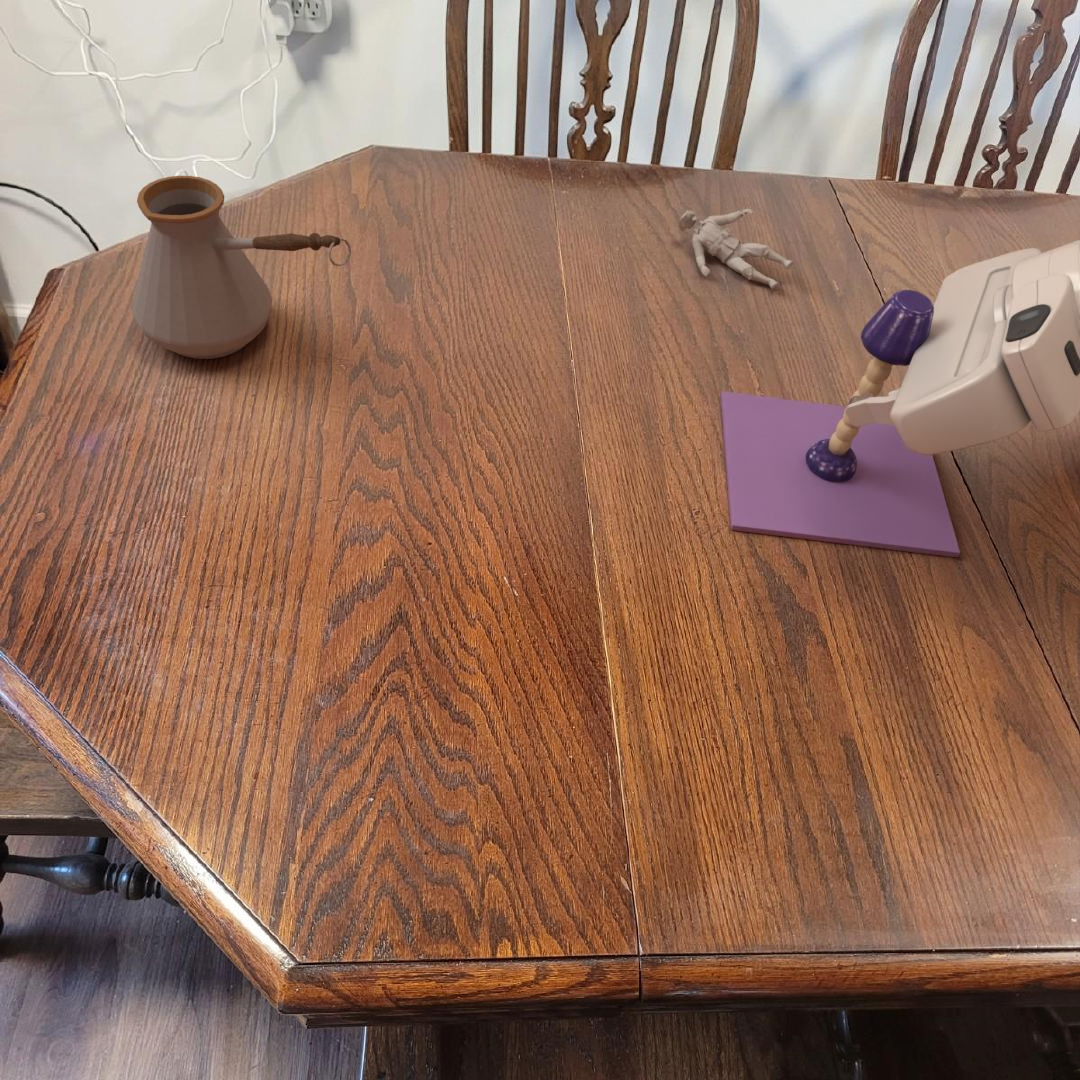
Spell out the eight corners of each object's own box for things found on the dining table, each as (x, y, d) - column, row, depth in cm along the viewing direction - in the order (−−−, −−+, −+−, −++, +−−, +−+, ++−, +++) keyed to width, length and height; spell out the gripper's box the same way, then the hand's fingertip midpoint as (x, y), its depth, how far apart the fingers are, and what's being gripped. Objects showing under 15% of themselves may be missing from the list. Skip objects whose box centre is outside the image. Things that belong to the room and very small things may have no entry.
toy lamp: (868, 464, 79) (954, 297, 66) (849, 496, 76) (935, 328, 63) (815, 439, 80) (890, 271, 68) (795, 470, 77) (868, 300, 65)
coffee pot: (109, 340, 80) (58, 175, 69) (203, 277, 87) (171, 118, 76) (311, 439, 75) (292, 278, 64) (394, 364, 82) (390, 207, 71)
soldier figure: (756, 312, 94) (660, 240, 94) (750, 317, 99) (658, 249, 99) (806, 247, 93) (708, 174, 93) (797, 256, 98) (704, 186, 98)
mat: (918, 420, 84) (921, 415, 84) (957, 557, 74) (960, 552, 73) (720, 395, 84) (721, 390, 83) (730, 530, 73) (732, 525, 73)
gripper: (1065, 206, 67) (881, 277, 77) (1025, 359, 54) (811, 420, 64) (1095, 281, 69) (912, 340, 79) (1063, 444, 57) (851, 491, 66)
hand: (866, 378), depth 71 cm, fingers open, 8 cm apart
